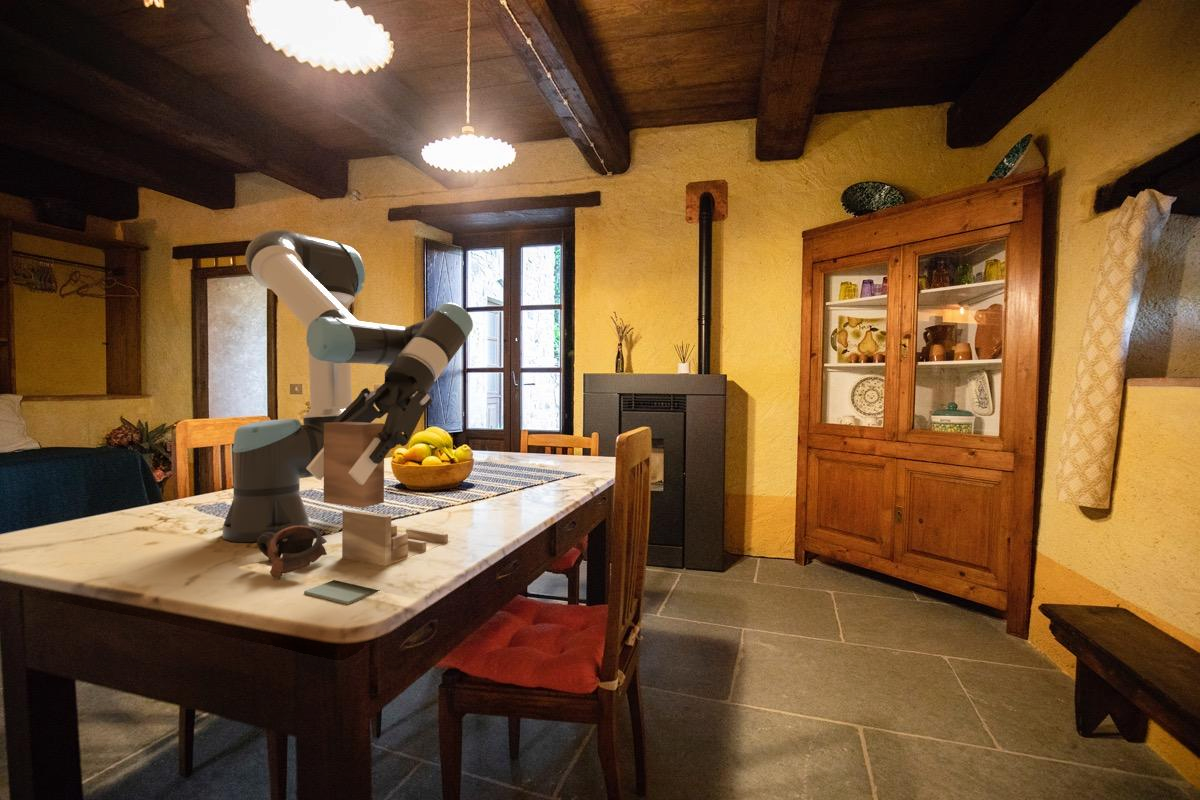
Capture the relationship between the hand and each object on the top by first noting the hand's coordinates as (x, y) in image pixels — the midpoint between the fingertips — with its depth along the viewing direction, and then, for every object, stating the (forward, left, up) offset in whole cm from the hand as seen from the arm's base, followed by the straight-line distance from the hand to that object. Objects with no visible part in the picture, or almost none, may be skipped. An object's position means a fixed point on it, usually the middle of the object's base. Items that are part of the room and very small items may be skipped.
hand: (334, 476), depth 76 cm
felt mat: (-3, +1, -17) cm, 18 cm away
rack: (-19, +3, -17) cm, 26 cm away
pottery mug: (-12, -12, -18) cm, 25 cm away
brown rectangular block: (-3, +2, -4) cm, 6 cm away
